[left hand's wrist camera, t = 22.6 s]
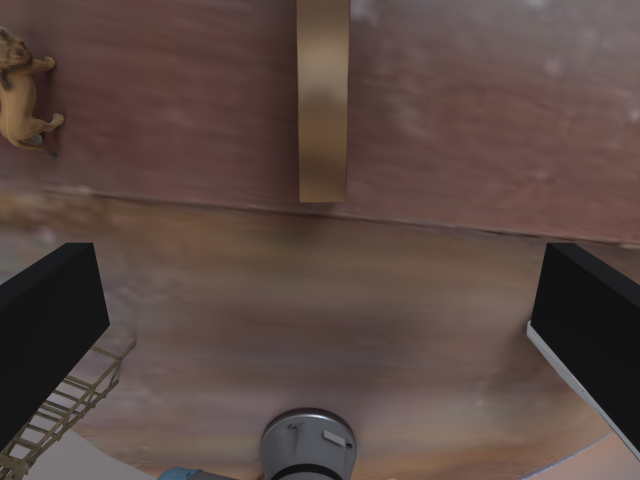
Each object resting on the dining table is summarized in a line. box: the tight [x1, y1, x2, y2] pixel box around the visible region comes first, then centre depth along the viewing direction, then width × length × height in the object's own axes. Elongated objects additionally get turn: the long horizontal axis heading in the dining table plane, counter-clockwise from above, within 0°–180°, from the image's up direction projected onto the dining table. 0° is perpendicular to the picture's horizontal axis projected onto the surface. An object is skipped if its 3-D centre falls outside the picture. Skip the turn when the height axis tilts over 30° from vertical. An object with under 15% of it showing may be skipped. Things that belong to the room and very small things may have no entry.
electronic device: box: [526, 320, 640, 462], centre depth 46 cm, size 12×8×30 cm, turn 41°
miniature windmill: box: [0, 342, 136, 480], centre depth 47 cm, size 9×8×30 cm
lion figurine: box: [0, 24, 64, 159], centre depth 44 cm, size 15×5×9 cm, turn 3°
